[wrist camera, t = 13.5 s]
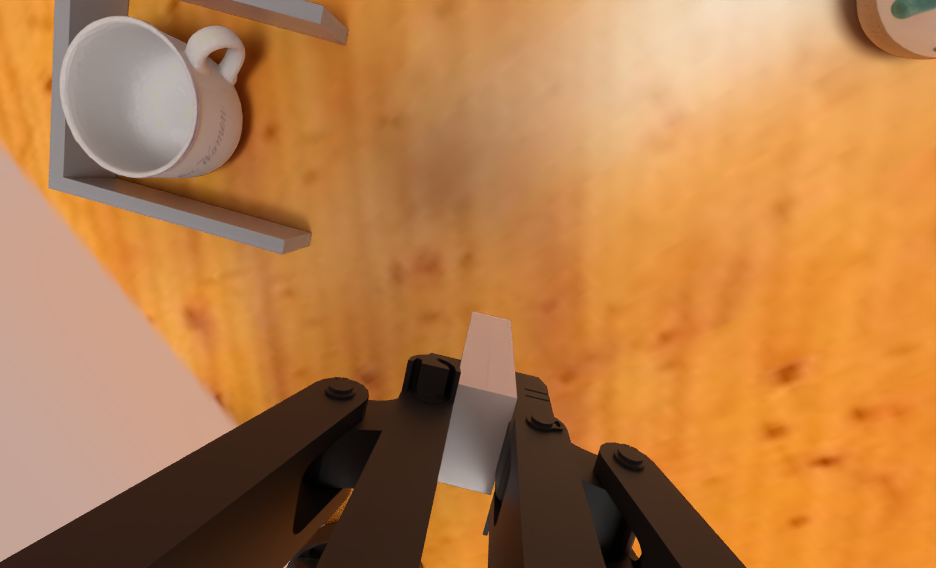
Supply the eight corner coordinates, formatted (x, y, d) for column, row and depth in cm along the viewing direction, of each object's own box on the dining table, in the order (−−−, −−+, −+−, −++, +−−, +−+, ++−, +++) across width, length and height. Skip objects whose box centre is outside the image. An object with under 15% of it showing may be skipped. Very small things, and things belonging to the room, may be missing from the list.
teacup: (179, 196, 40) (100, 199, 33) (120, 78, 38) (22, 51, 31) (311, 138, 38) (261, 127, 30) (256, 9, 36) (188, -38, 28)
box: (309, 245, 40) (282, 254, 35) (103, 187, 41) (48, 188, 36) (348, 29, 36) (323, 5, 31) (116, -33, 36) (57, -66, 32)
